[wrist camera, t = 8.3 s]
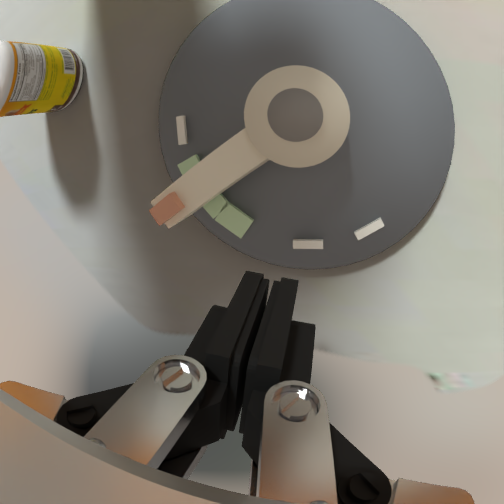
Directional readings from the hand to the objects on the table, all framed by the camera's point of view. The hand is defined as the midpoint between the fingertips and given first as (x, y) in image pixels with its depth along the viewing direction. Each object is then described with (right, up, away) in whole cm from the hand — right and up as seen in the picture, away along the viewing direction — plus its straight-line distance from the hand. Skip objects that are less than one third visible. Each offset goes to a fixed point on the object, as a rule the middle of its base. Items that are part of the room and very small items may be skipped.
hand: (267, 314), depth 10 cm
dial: (+3, +10, +8) cm, 13 cm away
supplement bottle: (-16, +16, +10) cm, 25 cm away
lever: (0, +8, +7) cm, 11 cm away
